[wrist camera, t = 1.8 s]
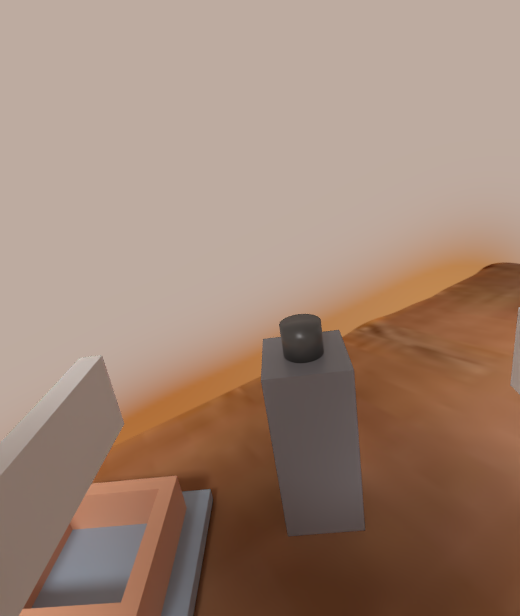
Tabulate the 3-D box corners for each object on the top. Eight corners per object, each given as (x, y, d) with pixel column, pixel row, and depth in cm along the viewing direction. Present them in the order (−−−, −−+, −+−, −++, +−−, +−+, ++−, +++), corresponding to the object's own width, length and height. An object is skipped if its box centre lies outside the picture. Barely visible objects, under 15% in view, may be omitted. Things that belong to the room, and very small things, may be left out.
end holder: (213, 499, 29) (202, 457, 28) (177, 711, 18) (155, 661, 17) (61, 512, 30) (43, 472, 29) (-61, 722, 19) (-100, 675, 18)
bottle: (350, 471, 30) (336, 301, 25) (365, 530, 25) (351, 336, 20) (285, 477, 30) (258, 311, 25) (288, 536, 26) (255, 347, 21)
